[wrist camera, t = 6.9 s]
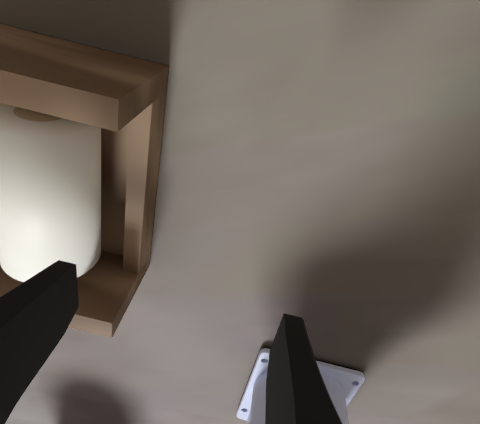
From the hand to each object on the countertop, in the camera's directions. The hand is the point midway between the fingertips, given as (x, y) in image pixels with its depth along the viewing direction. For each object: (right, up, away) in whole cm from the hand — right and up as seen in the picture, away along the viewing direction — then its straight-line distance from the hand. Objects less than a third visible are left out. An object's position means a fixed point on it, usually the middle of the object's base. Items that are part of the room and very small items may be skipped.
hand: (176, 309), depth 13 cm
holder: (-7, +6, +9) cm, 13 cm away
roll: (-7, +4, +6) cm, 10 cm away
